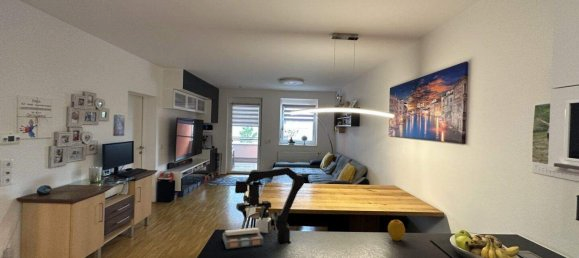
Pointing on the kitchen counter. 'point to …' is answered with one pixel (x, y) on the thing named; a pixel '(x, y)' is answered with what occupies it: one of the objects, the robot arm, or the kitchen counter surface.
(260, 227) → the medicine bottle
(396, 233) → the yellow oval fruit
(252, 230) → the rocker
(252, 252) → the kitchen counter surface
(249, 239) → the switch box
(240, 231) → the rocker
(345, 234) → the kitchen counter surface
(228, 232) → the rocker
